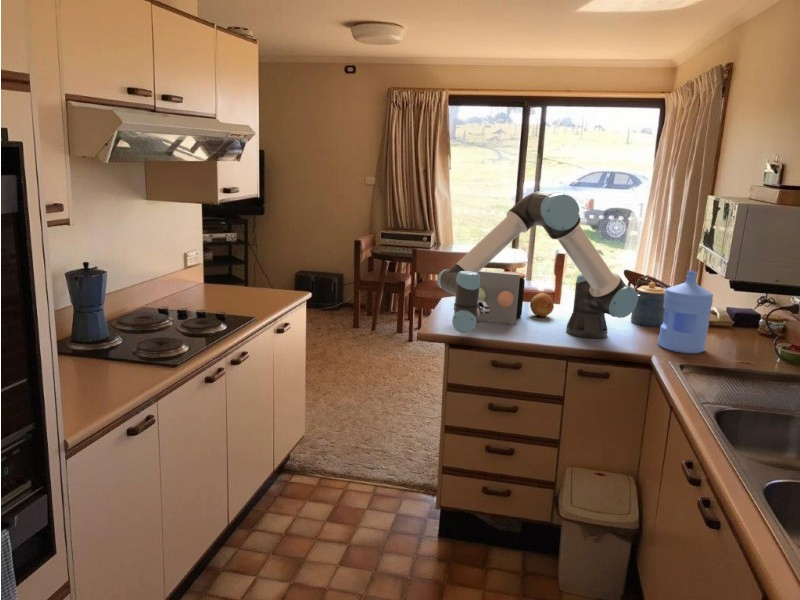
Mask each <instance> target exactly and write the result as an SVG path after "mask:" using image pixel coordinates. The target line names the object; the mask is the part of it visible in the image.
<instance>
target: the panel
mask: <svg viewBox="0 0 800 600" xmlns="http://www.w3.org/2000/svg"><path fill="white" fill-rule="evenodd" d="M505 272H506V271H491V270H482V269H481V270H480V271H479V272H478V274H479V275H480V287H481V288H483V289H484V290H485V293H486V296H485V299H484V300H483V301H485V303H486V305H487V306H489V314H487V313H481V314H480V316H479V318H478V321H477V322H486V321H487V322H488V323H498V324H506V323H508V325H516V324H515V323H516V322H517V318H516V314H517V303H518V292H519V281H520V274H517V273H505ZM502 291H509V292H511V293H512V295H513V303H512V304H511V305H510V306H508V307H503V306H501V305H500V304H499V303H498V295H499V294H500V293H501V292H502ZM480 307H481V306H480Z"/></svg>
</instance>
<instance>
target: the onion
mask: <svg viewBox="0 0 800 600" xmlns="http://www.w3.org/2000/svg"><path fill="white" fill-rule="evenodd" d="M554 305H555V304H554V301H553V299H552V297H551V296H550V295H549V294H547V293H545V292H540V293H537V294H536V295H534V296H533V297H532V299H531V300H530V303H529V308H530V310H531V312H532V314H533V315H535V316H539V317H541V318H545V317H547V316H549V315H550V314H551V313H552V312H553V311H554V308H555V306H554Z"/></svg>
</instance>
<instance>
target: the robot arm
mask: <svg viewBox="0 0 800 600" xmlns="http://www.w3.org/2000/svg"><path fill="white" fill-rule="evenodd" d="M581 220H582V219H581V217H580V206H579V204H578V202H577V200H576V199H575V198H574V197H572V196H571V195H570V194H566V193H563V192H553V191H552V192H551V191H544V190H542V191H541V190H540V191H539V190H538V191H534V192H531V193H530V194H529V193H528V195H526V196H524V197H523V198H522V199H521V200H519V201H518V202H517V203H515V204H514V205H513V206H512V207H511V208H510V209H509V210H507V211H506V216H505V218H503V220H501V221H500V222H499V223H498V224H497V225H496V226H494V228H493V229H492V230H490V232H489V233H488V234H487V235H485V236H484V237H483V238H482V239H481V240H480V241H478V243H477V244H475V246H474V247H472V248H471V249H470V250H469V251H468V252H467V253H466V254H465V255H463V257H462V258H461V259H459V260H458V261H457V262H456V263H455V265H453V266H452V267H451V268H449V269H448V268H446V269H445V268H444V269H443V270H442V271H441V270H440V272H439V274H438V275H437V281H436V282H437V285H438V286H439V288H440V289H442V290H443V291H444V292H446V293H448V294H451V295H452V296H454V303H453V310H454V314H453V316H452V320H451V321H452V327H453V328H454V329H455V331H457V332H458V333H461V334H467V333H470V332H471V331H472V330H474V328H475V327H476V326H477V322H478V321H477V320H478V318H479V316H480V314H481V313H487V314H489V306H487V305H486V303H485V301H481V300H478V299H479V287H480V275H479V274H478V272H479V271H480V270H481V271H482V269H484V268H485V267H486V266H487V265H488V264H489V263H490V262H491V261H492V260H493V259H494V258H495V257H496V256H497V255H499V254H500V253H501V252H502V251H503V250H504V249H505V248H507V246H508V245H509V244H511V243H512V242H513V241H514V240H515V239H516V238H517V237H518V236H519V235H521V233H522V234H523V233H527V232H528V231H529V230H530V229H532V228H533V227H536V226H540V227H542V228H543V229H544V231H545V232H546V234H548V236H549V237H550V239H552V240H557V241H558V242H559V244H560V245H561V247H562V248H563V250H564V251H565V252H566V254H567V255H568V256H569V259H571V261H572V262H573V263H574V265H575V267H576V268H577V269H578V270H579V272H580V274H578V276H577V277H576V280H575V284H574V285H575V287H574V288H575V290H574V298H573V308H572V309H573V310H572V312H571V315H570V318H569V319H568V321H567V324H566V328H565V332H567V333H568V334H570V335H573V336H575V337H581V338H588V339H602V338H606V337H608V326H607V320H606V316H605V314H607V315H609V316H611V317H613V318H618V319H623V318H626V317H629V316H631V315H632V312H633V311H634V309H635V307H636V305H637V301H638V295H637V291H636V290H637V289H635V288H633V287H632V286H631V285H626V283H625V281H624V280H623V279H622V278H621V276H620V275H619V273H616V272H612V271H611V269H610V268H609V266H608V264H607V263H606V262H605V260H604V259H603V257H602V256H601V254H600V253H599V252H598V250H597V249H596V247H595V246H594V244H593V243H592V241H591V240H590V238H589V237H588V235H587V234H586V232H585V231H584V230H583V228H582V227H581V225H580V224H581ZM480 301H481V302H480ZM480 306H481V307H480Z"/></svg>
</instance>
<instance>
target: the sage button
mask: <svg viewBox="0 0 800 600" xmlns="http://www.w3.org/2000/svg"><path fill="white" fill-rule="evenodd" d="M485 296H486V293H485V290H484V289H483V288H481V287H479V299H478V300H481V301H483V300H484V299H485ZM481 301H480V302H481Z"/></svg>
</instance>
